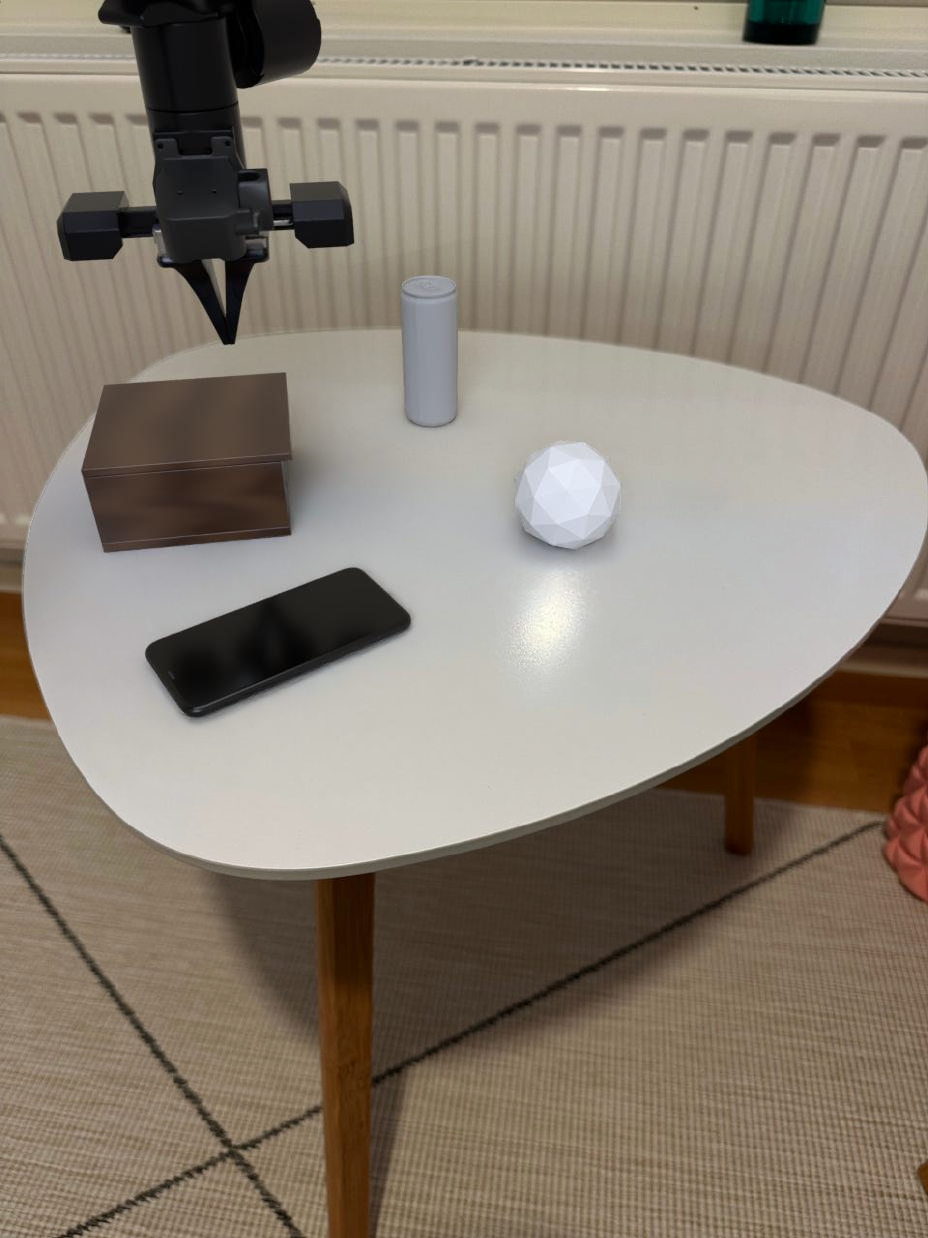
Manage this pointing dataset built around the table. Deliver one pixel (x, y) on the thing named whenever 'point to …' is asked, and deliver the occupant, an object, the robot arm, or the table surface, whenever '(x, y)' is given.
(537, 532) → the geometric ball
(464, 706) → the table surface
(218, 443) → the case lid
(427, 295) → the beverage can
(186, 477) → the case
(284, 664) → the smartphone
